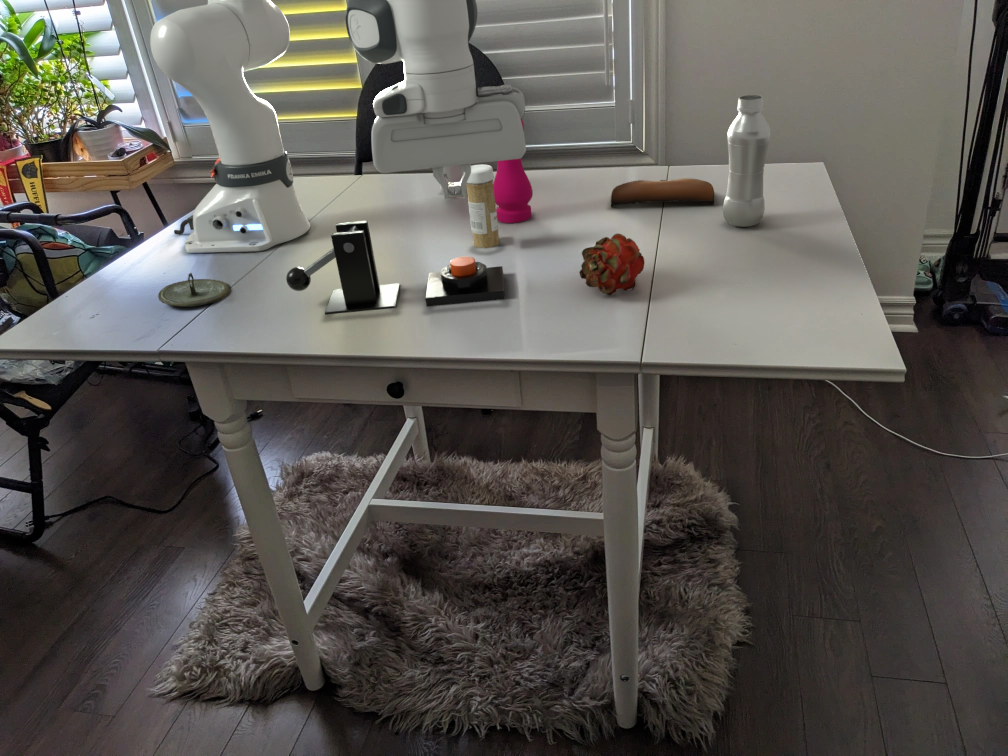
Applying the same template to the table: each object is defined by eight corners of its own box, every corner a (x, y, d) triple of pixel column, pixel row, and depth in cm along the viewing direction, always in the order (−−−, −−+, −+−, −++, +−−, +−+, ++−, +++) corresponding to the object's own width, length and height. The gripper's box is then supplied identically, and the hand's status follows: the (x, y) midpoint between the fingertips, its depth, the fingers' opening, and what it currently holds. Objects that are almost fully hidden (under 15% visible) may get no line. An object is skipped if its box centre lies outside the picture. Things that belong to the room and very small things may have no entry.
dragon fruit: (594, 318, 110) (618, 293, 120) (644, 286, 105) (665, 264, 116) (559, 266, 109) (586, 246, 119) (608, 232, 105) (632, 214, 115)
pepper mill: (542, 216, 143) (534, 101, 133) (509, 227, 140) (498, 109, 130) (519, 208, 148) (509, 95, 138) (486, 218, 145) (474, 104, 135)
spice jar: (506, 248, 131) (498, 166, 125) (482, 255, 129) (473, 173, 123) (491, 241, 135) (482, 161, 128) (467, 248, 133) (458, 168, 126)
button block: (427, 312, 113) (423, 286, 111) (431, 286, 121) (427, 261, 119) (505, 305, 113) (502, 278, 111) (503, 279, 120) (501, 254, 118)
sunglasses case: (712, 188, 146) (714, 162, 140) (713, 219, 143) (715, 193, 137) (613, 192, 150) (611, 167, 144) (611, 222, 146) (609, 197, 141)
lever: (295, 299, 114) (278, 281, 113) (300, 289, 117) (284, 272, 116) (365, 248, 111) (349, 229, 109) (368, 239, 114) (353, 220, 112)
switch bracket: (326, 320, 114) (308, 241, 108) (335, 296, 121) (318, 221, 115) (396, 313, 113) (382, 234, 107) (401, 290, 120) (388, 214, 114)
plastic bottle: (748, 214, 134) (756, 90, 124) (772, 226, 129) (782, 97, 119) (714, 221, 133) (719, 97, 123) (736, 234, 127) (744, 104, 117)
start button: (451, 278, 113) (449, 267, 112) (451, 268, 116) (450, 257, 115) (476, 276, 113) (475, 264, 112) (476, 266, 116) (475, 255, 115)
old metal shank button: (156, 313, 125) (140, 288, 122) (206, 276, 130) (191, 251, 126) (194, 331, 119) (178, 305, 116) (244, 292, 124) (230, 266, 120)
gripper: (522, 78, 105) (530, 182, 112) (366, 95, 105) (385, 197, 112) (524, 87, 99) (533, 196, 106) (360, 105, 100) (380, 212, 107)
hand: (455, 197), depth 109 cm, fingers closed
